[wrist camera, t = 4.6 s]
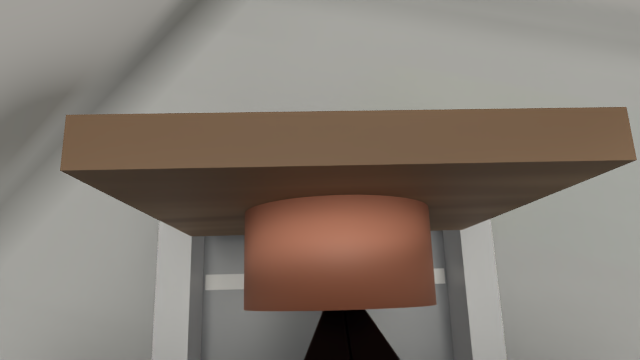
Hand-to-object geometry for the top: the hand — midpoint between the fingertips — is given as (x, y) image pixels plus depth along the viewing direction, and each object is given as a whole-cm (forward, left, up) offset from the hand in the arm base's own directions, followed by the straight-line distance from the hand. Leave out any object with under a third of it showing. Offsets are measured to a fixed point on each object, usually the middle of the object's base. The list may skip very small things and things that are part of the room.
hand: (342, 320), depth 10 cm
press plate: (+2, 0, -4) cm, 4 cm away
